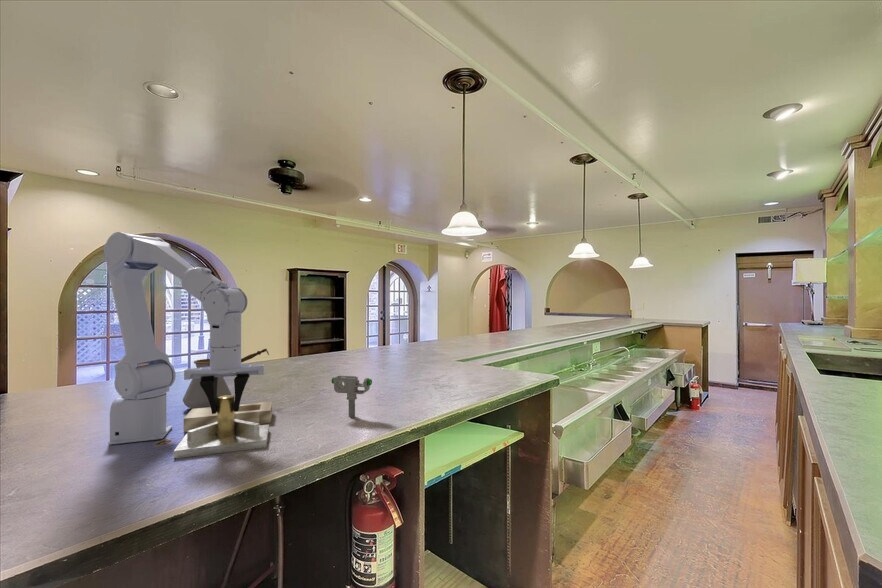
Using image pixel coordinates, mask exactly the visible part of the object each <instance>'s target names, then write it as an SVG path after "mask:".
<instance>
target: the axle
mask: <svg viewBox="0 0 882 588" xmlns="http://www.w3.org/2000/svg"><path fill="white" fill-rule="evenodd" d="M234 402H235V395H232V394H231V395H225V396H220V397H218V398H217V432H218V438H228V437H232V436H234V435H235V412H234Z"/></svg>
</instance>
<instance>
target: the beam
mask: <svg viewBox="0 0 882 588" xmlns="http://www.w3.org/2000/svg"><path fill="white" fill-rule="evenodd" d="M272 415H273V401H267V402H255V403H254V402H253V403H245V404H244V403H243V404H241V403H240V406H239V410H238V412H235V419H239V420H244V421H249V422H254V423H259V425H265V424H270V423H271V421H272ZM214 422H217V412H216V414H212V411H211V407H207V408H196V409H192V410H191V409H190V411H189V412H188V413H187V414H185V416H184V417H183V433H184V432H185V433H186V432H187V431H189V430H192V429H195V428H199V427H202V426H205V425H208V424H211V423H214Z"/></svg>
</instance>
